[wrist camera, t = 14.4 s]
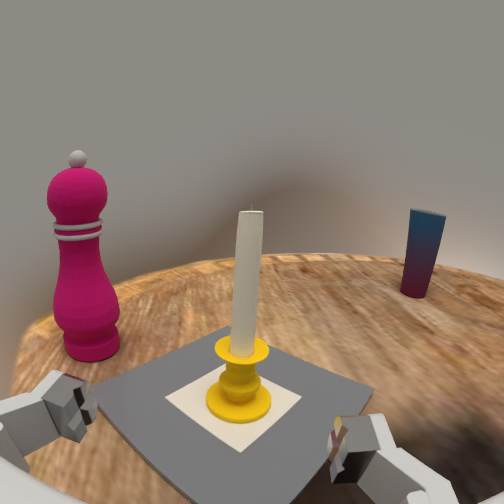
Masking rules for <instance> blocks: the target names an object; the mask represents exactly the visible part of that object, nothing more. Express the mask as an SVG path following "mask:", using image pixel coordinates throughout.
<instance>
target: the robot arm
mask: <svg viewBox="0 0 504 504" xmlns="http://www.w3.org/2000/svg"><path fill="white" fill-rule="evenodd" d="M92 391H93V388H92V385H91V383H90V382H89V381H86V380H83V379H81V378H78V377H75V376H72V375H69V374H67V373H63V372H61V371H58V370H52V371H51V372H50V373H49V374H48V375H47V376H46V377H45V378H44V379H43V380H42V381H41V382H40V383H39V384H38V385H37V386H36V388H35V389H34V390H33V391H32V392H31V393H27V392H26V393H23V394H20V395H17V396H14V397H11V398H8V399H5V400H1V401H0V504H88V503H86V502H84V501H81V500H79V499H77V498H75V497H72V496H70V495H68V494H66V493H64V492H62V491H60V490H58V489H56V488H54V487H52V486H50V485H48V484H46V483H44V482H42V481H41V480H39V479H37V478H35V477H34V476H32V475H30V474H28V472H29V471H30V466H29V464H28V463H27V462H26V460H25V459H24V456H26V455H28V454H30V453H32V452H34V451H36V450H38V449H39V448H41V447H43V446H45V445H47V444H49V443H50V442H52V441H54V440H56V439H58V438H59V437H60V436H62V437H64V438H67V439H69V440H72V441H74V442H77V443H80V442H81V440H82V439H83V437H84V435H85V434H86V432H87V427H86V426H87V425H89V424H91V423H93V421H94V420H95V418H96V415H97V411H98V408H97V401H96V399H95V398H94V397H93V395H92V394H91V392H92ZM334 428H335V430H333V431H332V432H330V435H329V438H328V445H327V453H328V458H329V459H330V460H331V461H332V464H331V467H330V474H331V481H332V484H341V483H357V482H358V483H357V484H358V485H359V486H360V487H361V489H362V490H363V491H364V492H365V493H366V494H367V495H368V496H369V497H370V498H371V499H372V500H373V501H374V502H375V503H376V504H459V503H458V500H457V498H456V495H455V493H454V491H453V488H452V486H451V484H450V481H448V480H446V479H445V478H443V477H442V476H440V475H439V474H438V473H436V472H435V471H433V470H432V469H430V468H429V467H427V466H426V465H424V464H423V463H421V462H420V461H419V460H417V459H416V458H414V457H413V456H411V455H410V454H409V453H407V452H406V451H404V450H403V449H402V448H396V445H395V443H394V440H393V437H392V435H391V432H390V430H389V427H388V424H387V422H386V419H385V417H384V415H383V414H382V413H380V414H367V415H366V414H365V415H345V416H337V417H336V419H335V422H334ZM478 504H504V491H503V492H501V493H499V494H497V495H495V496H493V497H491V498H489V499H487V500H484V501H482V502H480V503H478Z"/></svg>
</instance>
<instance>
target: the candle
mask: <svg viewBox="0 0 504 504" xmlns="http://www.w3.org/2000/svg"><path fill="white" fill-rule="evenodd" d="M252 208H253V203H252V202H251V207H250V211H241V212H239V220H238V229H237V238H236V254H235V268H234V284H233V301H232V318H231V335H230V336H226V337H223V338H221V339H220V340H218V342H217V343H216V344H215V352H216V354H217V355H218V356H219V357H220V358H221V359H222V360H224V361H227V362H226V370H225V371H223V372H222V373H221V375H220V376H219V381H218V382H216V383H215V384H213V385H212V386H211V387H210V388H209V389H208V391H207V394H206V404H207V407H208V409H209V410H210V412H211V413H213V414H214V415H215V416H216V417H218V418H220V419H221V420H224V421H227V422H231V423H239V424H240V423H250V422H253V421H256V420H258V419H260V418H262V417H264V416H265V415H266V414H267V412H268V411H269V409H270V407H271V395H270V393H269V391H268V390H267V389H266V388H265V387H264V386H263V385H261V379H260V376H259V375H258V374H257V373H256V372H255V370H256V363H259V362H261V361H263V360H264V359H265V358H267V356H268V354H269V347H268V345H267V344H266V343H265V342H264V341H262V340H261V339H259V338H256V337H255V329H256V317H257V304H258V291H259V278H260V265H261V252H262V239H263V212H261V211H252Z"/></svg>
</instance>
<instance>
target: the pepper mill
mask: <svg viewBox="0 0 504 504" xmlns="http://www.w3.org/2000/svg"><path fill="white" fill-rule="evenodd" d="M86 161H87V158H86V155H85V153H84V152H82V151H80V150H79V151H74V152H73V153H72V154H71V155H70V157H69V165H70V166H71V168H69V169H66V170H64V171H61V172H60V173H58V174H57V175H56V176H55V177H54V178H53V179H52V181H51V182H50V185H49V187H48V192H47V204H48V208H49V209H50V211H51V212H52V214H53V215H54V216H55V217H56V220H57V221H56V222H54V223H53V227H54V228H55V229H54V231H55V233H54V237H55V238H56V239H58V243H59V250H60V267H59V276H58V281H57V285H56V289H55V294H54V303H53V310H54V318H55V321H56V323H57V324H58V326H59V327H60V328H61V329H62V330H63V331H65V332H64V334H63V338H64V343H65V347H66V350H67V352H68V354H69V355H70V356H71V357H72V358H74V359H76V360H79V361H84V362H96V361H101V360H104V359H107V358H108V357H110V356H112V355H113V354H114V353H115V352H116V351H117V350H118V348H119V345H120V342H119V335H118V330H117V327H116V326H115V323H116V322H117V320H118V318H119V314H120V309H119V304H118V299H117V296H116V293H115V290H114V288H113V287H112V285H111V283H110V281H109V279H108V278H107V275H106V273H105V271H104V268H103V265H102V262H101V258H100V251H99V236H100V235H101V234H102V233H103V229H102V226H101V224H102V223H103V221H102V219H101V218H99V214H100V212H101V211H102V210H103V208H104V207H105V205H106V202H107V195H108V194H107V186H106V183H105V180H104V179H103V177H102V176H101V175H100V174H99V173H98V172H96V171H94V170H92V169H89V168H84V165H85V164H86Z"/></svg>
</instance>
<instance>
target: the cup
mask: <svg viewBox="0 0 504 504" xmlns="http://www.w3.org/2000/svg"><path fill="white" fill-rule="evenodd" d="M445 220H446V216H445V215H443V214H439V213H435V212H431V211H425V210H420V209H412V208H411V210H410V221H409V232H408V241H407V249H406V258H405V264H404V271H403V278H402V284H401V290H400V291H401V292H402V293H403V294H404V295H406V296H409V297H413V298H424V297H425V295H426V291H427V288H428V285H429V282H430V279H431V275H432V272H433V268H434V265H435V261H436V257H437V253H438V249H439V245H440V241H441V237H442V233H443V228H444V224H445Z"/></svg>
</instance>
